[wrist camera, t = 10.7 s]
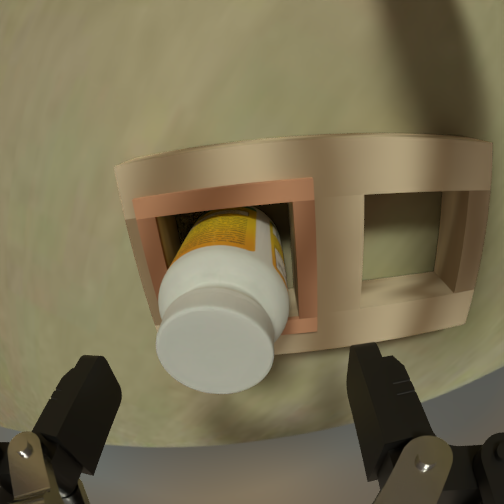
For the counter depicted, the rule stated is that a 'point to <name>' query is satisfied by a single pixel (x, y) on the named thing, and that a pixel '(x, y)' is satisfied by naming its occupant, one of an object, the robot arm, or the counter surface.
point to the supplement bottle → (224, 302)
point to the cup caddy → (324, 224)
